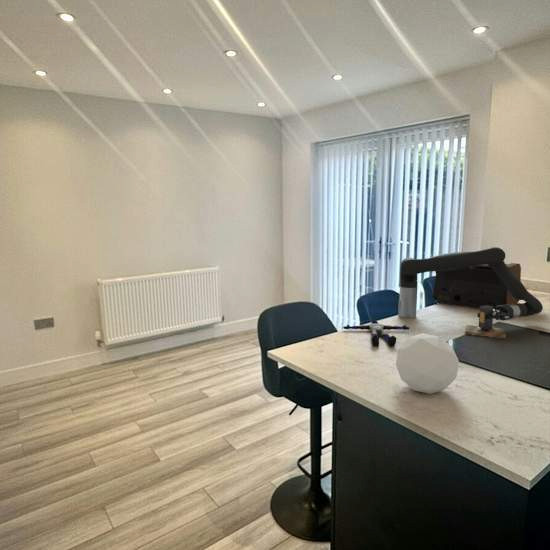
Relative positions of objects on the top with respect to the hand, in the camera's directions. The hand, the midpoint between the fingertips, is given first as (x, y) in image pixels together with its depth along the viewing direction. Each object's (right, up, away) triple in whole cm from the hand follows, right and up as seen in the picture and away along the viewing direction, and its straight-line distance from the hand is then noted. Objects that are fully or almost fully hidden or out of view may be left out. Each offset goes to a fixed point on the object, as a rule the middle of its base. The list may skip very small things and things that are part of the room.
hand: (481, 316), depth 189 cm
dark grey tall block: (+3, -6, +2) cm, 7 cm away
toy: (-49, -10, +1) cm, 50 cm away
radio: (+24, +1, +57) cm, 62 cm away
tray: (+3, -8, +2) cm, 9 cm away
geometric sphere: (-48, -19, -55) cm, 76 cm away
